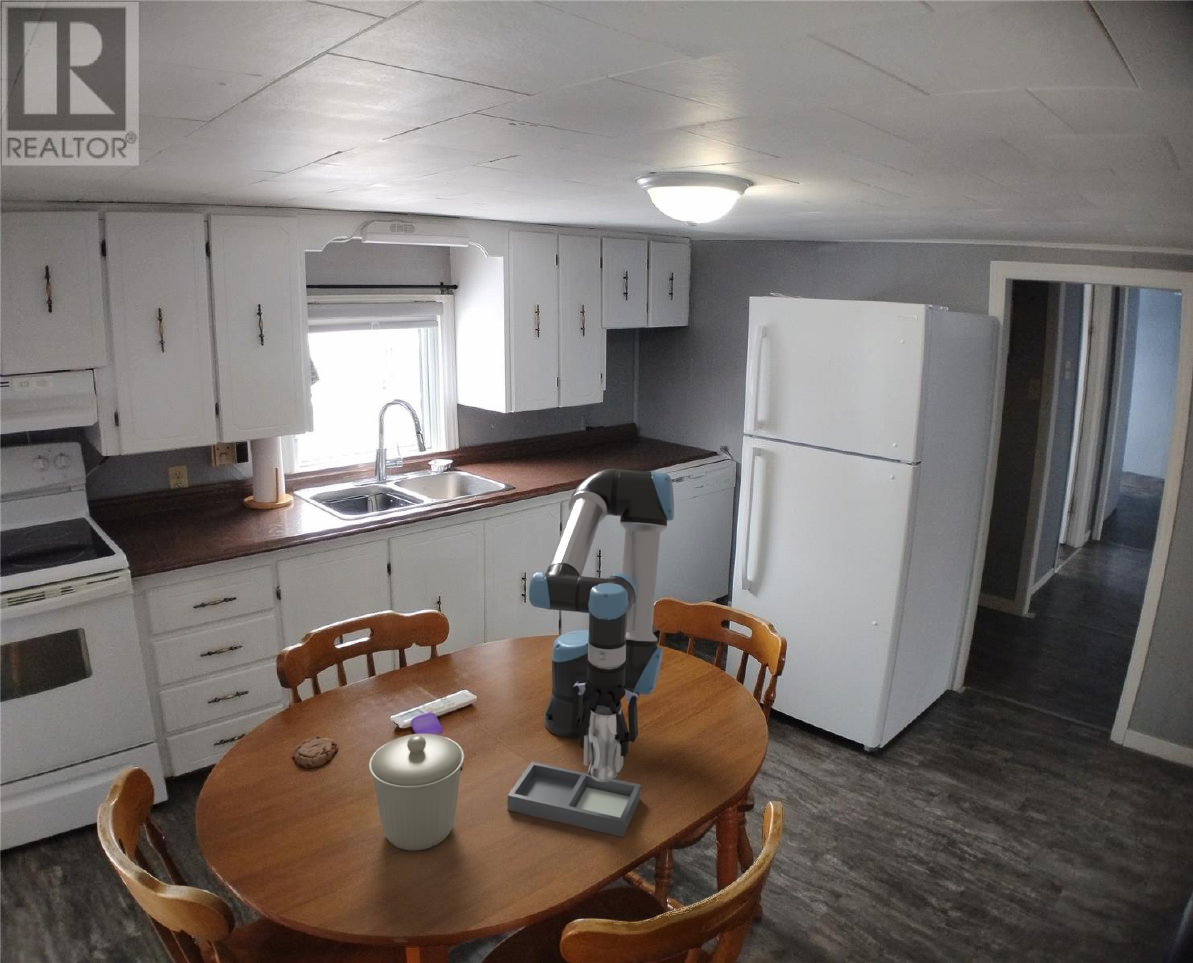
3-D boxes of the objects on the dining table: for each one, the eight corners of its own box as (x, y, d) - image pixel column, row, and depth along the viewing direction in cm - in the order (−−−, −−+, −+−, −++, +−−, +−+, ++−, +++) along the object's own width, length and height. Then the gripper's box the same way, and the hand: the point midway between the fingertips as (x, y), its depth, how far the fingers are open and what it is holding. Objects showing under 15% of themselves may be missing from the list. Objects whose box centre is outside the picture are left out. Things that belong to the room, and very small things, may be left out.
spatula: (472, 768, 182) (472, 758, 182) (443, 777, 179) (443, 767, 178) (434, 719, 202) (433, 710, 201) (407, 726, 199) (407, 717, 198)
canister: (416, 794, 172) (413, 704, 167) (483, 823, 163) (483, 730, 158) (352, 842, 157) (346, 745, 152) (422, 877, 148) (419, 775, 143)
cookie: (295, 773, 178) (295, 760, 178) (290, 748, 188) (289, 737, 187) (342, 762, 183) (341, 751, 182) (335, 739, 192) (334, 728, 191)
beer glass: (595, 786, 161) (598, 719, 158) (580, 768, 167) (582, 702, 164) (625, 778, 164) (628, 711, 161) (609, 760, 170) (612, 695, 167)
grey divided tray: (507, 809, 167) (507, 795, 167) (531, 775, 179) (531, 761, 179) (623, 837, 160) (623, 821, 159) (640, 799, 172) (640, 784, 171)
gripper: (554, 661, 159) (553, 765, 165) (648, 677, 154) (643, 784, 159) (567, 646, 166) (565, 746, 172) (658, 661, 161) (653, 764, 166)
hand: (603, 764), depth 165 cm, fingers closed on beer glass, 6 cm apart
